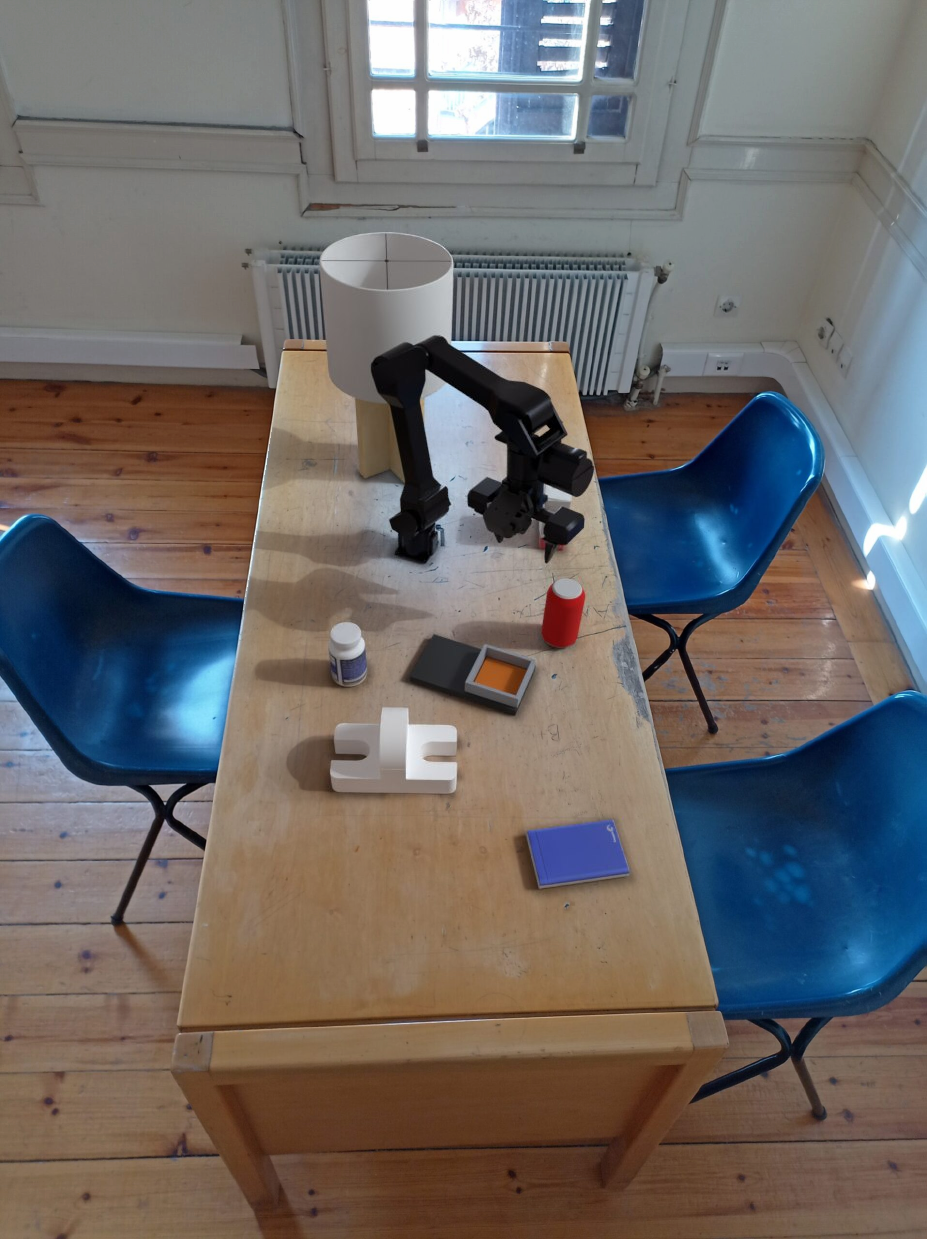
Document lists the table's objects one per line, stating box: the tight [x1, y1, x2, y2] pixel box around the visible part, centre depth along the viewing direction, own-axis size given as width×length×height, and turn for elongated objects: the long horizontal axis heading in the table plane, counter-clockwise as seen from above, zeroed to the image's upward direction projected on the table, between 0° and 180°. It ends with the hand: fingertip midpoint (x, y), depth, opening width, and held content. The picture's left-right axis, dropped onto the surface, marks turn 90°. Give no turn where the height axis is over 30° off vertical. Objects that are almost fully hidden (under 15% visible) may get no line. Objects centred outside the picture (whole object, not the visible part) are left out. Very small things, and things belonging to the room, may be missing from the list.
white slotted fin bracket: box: [329, 706, 458, 795], centre depth 123 cm, size 10×18×11 cm, turn 90°
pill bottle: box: [328, 621, 368, 688], centre depth 135 cm, size 6×6×10 cm
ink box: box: [538, 484, 572, 551], centre depth 160 cm, size 9×5×12 cm, turn 175°
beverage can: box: [540, 577, 586, 649], centre depth 141 cm, size 6×6×12 cm
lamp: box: [318, 231, 454, 484], centre depth 162 cm, size 23×23×43 cm
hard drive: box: [525, 818, 631, 890], centre depth 117 cm, size 2×8×12 cm
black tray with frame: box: [409, 633, 536, 716], centre depth 138 cm, size 18×10×3 cm, turn 69°
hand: (523, 551), depth 140 cm, fingers open, 9 cm apart
